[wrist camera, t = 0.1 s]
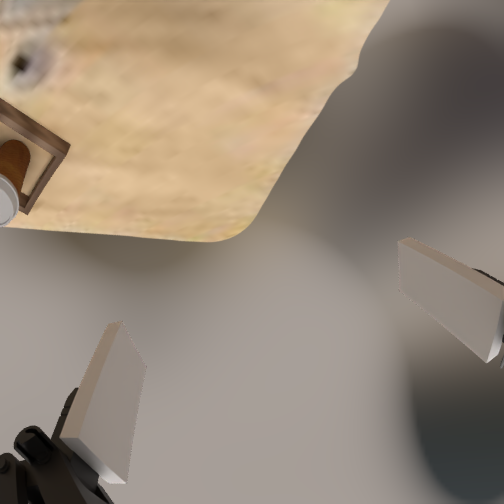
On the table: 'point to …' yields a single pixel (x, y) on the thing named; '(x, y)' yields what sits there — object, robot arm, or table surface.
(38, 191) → the walnut cup stand
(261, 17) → the table surface
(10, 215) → the disposable coffee cup
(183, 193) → the table surface
